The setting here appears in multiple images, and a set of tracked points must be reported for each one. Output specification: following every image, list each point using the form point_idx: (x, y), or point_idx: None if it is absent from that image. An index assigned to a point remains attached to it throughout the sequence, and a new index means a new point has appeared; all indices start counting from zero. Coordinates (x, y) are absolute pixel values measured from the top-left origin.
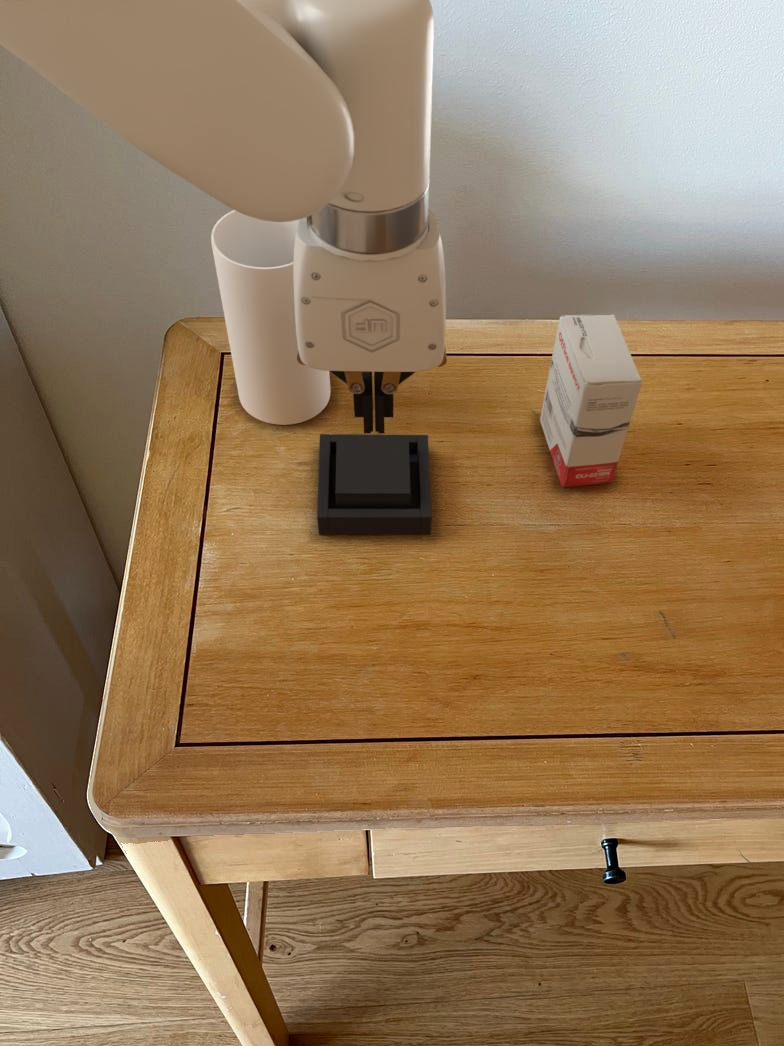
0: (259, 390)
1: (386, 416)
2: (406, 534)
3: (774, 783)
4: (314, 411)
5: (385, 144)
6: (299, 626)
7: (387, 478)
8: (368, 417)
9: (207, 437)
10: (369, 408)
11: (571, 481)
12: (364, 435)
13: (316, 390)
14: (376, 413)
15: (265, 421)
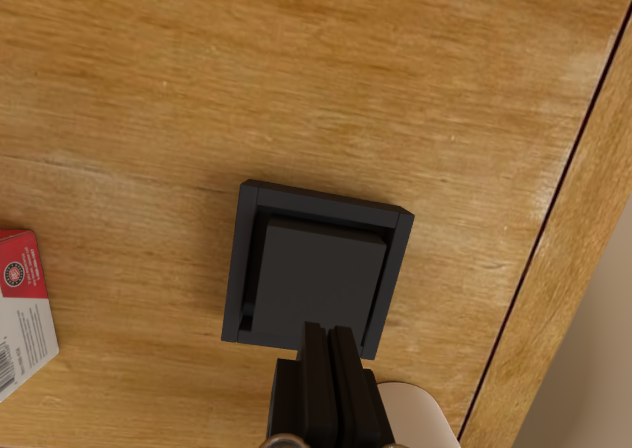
0: (447, 437)
1: (295, 361)
2: (283, 185)
3: None
4: None
5: None
6: (466, 48)
7: (299, 261)
8: (347, 360)
9: (491, 374)
10: (349, 386)
11: (8, 233)
12: None
13: None
14: (327, 369)
15: (421, 389)
